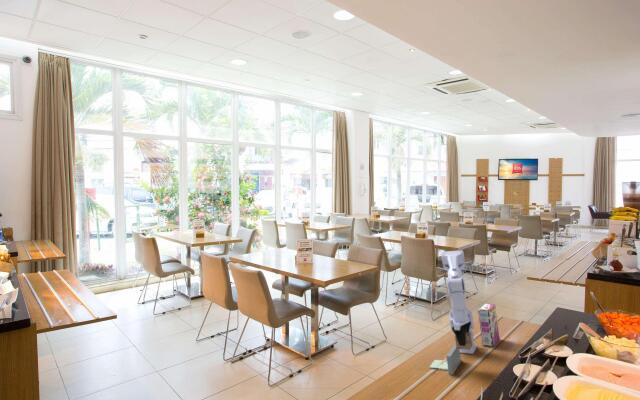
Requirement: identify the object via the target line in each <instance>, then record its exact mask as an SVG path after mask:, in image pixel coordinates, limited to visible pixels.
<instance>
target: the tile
mask: <svg viewBox="0 0 640 400" xmlns="http://www.w3.org/2000/svg"><path fill="white" fill-rule="evenodd" d="M442 361H443V359H442V360H441V359H440V360H439V359H434V360H433V361H432V363H431V364H430V366H429V369H432V370H433V368H438V369H437V370H440V369H441V370H440V371H448V364H447V360H445V361H446V362H444V363H443V364H441V365H439V364H440V363H441V362H442ZM438 365H439V366H438ZM437 366H438V367H437Z"/></svg>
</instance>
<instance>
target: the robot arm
mask: <svg viewBox="0 0 640 400" xmlns="http://www.w3.org/2000/svg"><path fill="white" fill-rule="evenodd" d="M440 256H441V263H442V267H443V269H444V271H447V281H446V284H447V291H448V295H449V298H450V305H451V310H449V323H450V324H449V325H450V329H451V330H452V332H453V333H454V336H455V335H456V337H457V340H458V343H459V345H460V346H465V344H466V332H470V333H471V338H472V347H471V349H470V350H468V349H460V354H461V353H462V354H472V355H473V354H474V353H475V351H476V349H477V347H478V345H477V344H475V339H474V338H475V336H474V332H473V330H474V328H475V324H474V317H473V312H472V311H471V310H470V309H469V308H468V306H467V300H466V299H467V298H466V283H465V280H464V277H463V270H464V269H466V264H465V263H466V261H465V253H464V250H463V249H461V250H451V251H450V250H448V251H441V252H440Z"/></svg>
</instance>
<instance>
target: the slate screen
mask: <svg viewBox="0 0 640 400" xmlns="http://www.w3.org/2000/svg"><path fill="white" fill-rule="evenodd" d="M446 361H447V364H448V370H447V371H448V374H449V375H450V376H451V375H452V376H453V375H454V373H455V371H456V370H457V369H458V366H460V364H461V362H462V357H461V353H460V349H457V347H456V343H454V345H453V346H452V347H451V348H450V350H449V351H448V353H447V354H446Z"/></svg>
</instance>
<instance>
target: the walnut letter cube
mask: <svg viewBox="0 0 640 400" xmlns="http://www.w3.org/2000/svg"><path fill="white" fill-rule="evenodd" d="M454 338H455V340H454V341H455V344H456V347H457V349H468V350H470V349H471V347H472V338H471V333H470V332H466V344H465V346H460V345H459V343H458V340H457V337H456V335H455V334H454Z"/></svg>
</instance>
